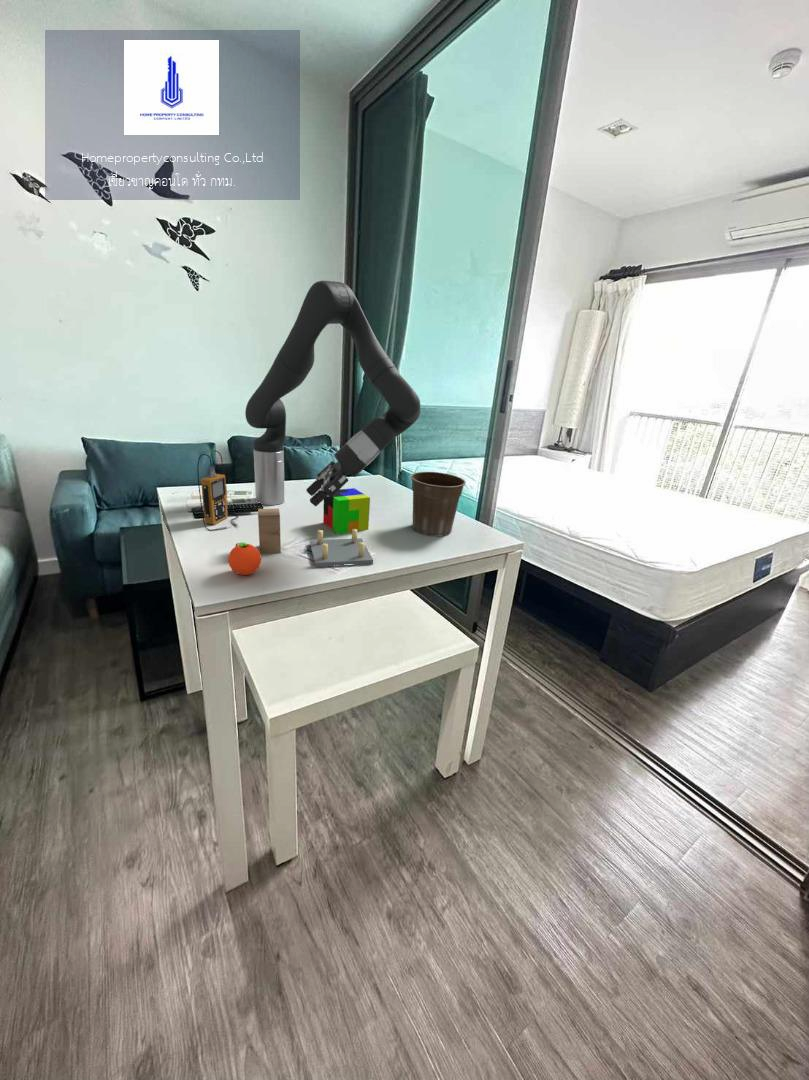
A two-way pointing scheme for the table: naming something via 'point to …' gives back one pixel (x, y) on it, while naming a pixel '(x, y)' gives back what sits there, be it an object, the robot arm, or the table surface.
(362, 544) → the pin plate
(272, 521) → the walnut block
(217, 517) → the multimeter
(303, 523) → the table surface
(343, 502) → the puzzle toy
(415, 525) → the plant pot
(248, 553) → the clementine
